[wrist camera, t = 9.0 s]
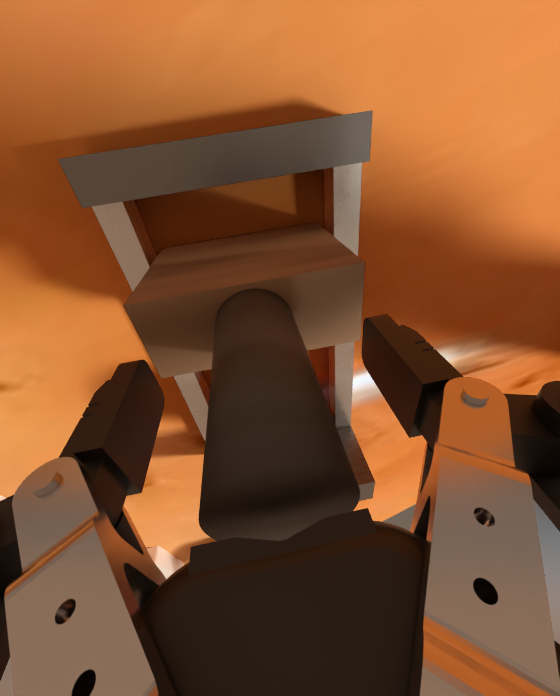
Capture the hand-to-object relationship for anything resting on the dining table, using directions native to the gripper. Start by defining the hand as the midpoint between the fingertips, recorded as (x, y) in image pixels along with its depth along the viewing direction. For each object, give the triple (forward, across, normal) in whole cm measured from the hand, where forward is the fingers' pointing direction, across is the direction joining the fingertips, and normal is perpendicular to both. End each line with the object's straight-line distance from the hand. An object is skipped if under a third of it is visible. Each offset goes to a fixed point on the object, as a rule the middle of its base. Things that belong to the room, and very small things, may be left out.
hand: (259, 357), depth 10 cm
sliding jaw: (+11, 0, 0) cm, 11 cm away
